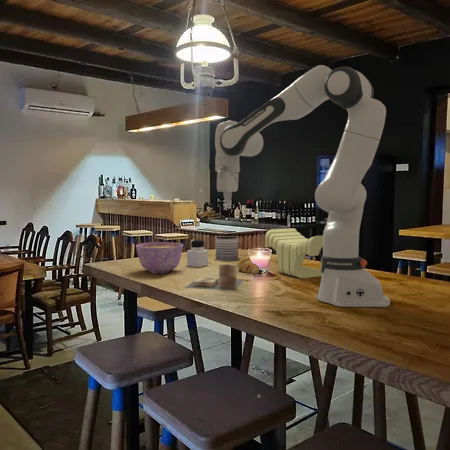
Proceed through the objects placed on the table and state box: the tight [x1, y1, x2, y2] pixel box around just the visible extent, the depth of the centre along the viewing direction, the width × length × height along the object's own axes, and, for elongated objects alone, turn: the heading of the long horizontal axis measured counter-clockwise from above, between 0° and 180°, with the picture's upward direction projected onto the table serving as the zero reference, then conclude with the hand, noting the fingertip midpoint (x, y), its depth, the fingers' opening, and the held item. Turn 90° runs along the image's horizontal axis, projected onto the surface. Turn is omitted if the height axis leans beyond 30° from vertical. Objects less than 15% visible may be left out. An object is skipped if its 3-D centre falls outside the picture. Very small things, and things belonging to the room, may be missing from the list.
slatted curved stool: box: [264, 227, 323, 279], centre depth 192 cm, size 30×16×18 cm, turn 29°
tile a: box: [193, 276, 219, 287], centre depth 169 cm, size 7×2×8 cm
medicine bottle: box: [186, 239, 209, 268], centre depth 214 cm, size 7×7×12 cm
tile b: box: [218, 263, 238, 289], centre depth 165 cm, size 6×2×8 cm, turn 77°
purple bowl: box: [135, 241, 184, 274], centre depth 198 cm, size 20×20×12 cm
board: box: [184, 278, 245, 291], centre depth 170 cm, size 18×18×1 cm
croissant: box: [237, 255, 260, 275], centre depth 201 cm, size 21×10×8 cm, turn 14°
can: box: [215, 235, 239, 262], centre depth 233 cm, size 11×11×12 cm
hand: (227, 204), depth 172 cm, fingers closed
